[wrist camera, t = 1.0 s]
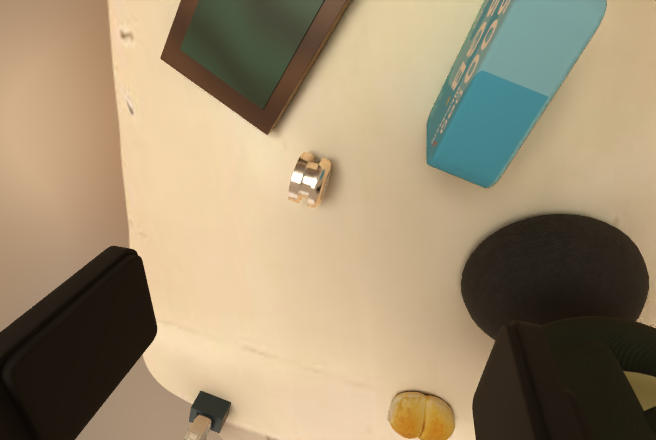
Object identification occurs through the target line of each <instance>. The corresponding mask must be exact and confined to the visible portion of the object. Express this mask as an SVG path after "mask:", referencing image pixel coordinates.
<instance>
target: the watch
mask: <svg viewBox="0 0 656 440" xmlns="http://www.w3.org/2000/svg"><path fill="white" fill-rule="evenodd" d="M230 404H231V402H228V401H226V400H223V399H220V398H218V397H215V396H213V395H210V394H208V393H205V392H202V391H200V393H199V394H198V396H197V398H196V400H195V401H194V403H193V405H192V407H191V412H190V418H189V421H190V422H192V424H191V426H190V427H189V429H188V433H187V435H186V436H185V438H184V440H185V439H186V440H206V439H207V437H208V434H209V430H212V431H215V432H217V433H220V431H221V429H222V427H223V425H224V423H225V421H226V418H227V416H228V412H229V408H230Z"/></svg>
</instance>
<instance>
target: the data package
mask: <svg viewBox="0 0 656 440" xmlns="http://www.w3.org/2000/svg"><path fill="white" fill-rule="evenodd" d="M606 6H607V2H606V0H485V1H484V3H483V5H482V7H481V9H480V11H479V13H478V15H477V17H476V19H475V22H474V24H473V26H472V28H471V30H470V32H469V34H468V36H467V38H466V40H465V42H464V44H463V46H462V48H461V50H460V52H459V55H458V57H457V59H456V61H455V63H454V65H453V67H452V69H451V71H450V73H449V75H448V77H447V79H446V81H445V83H444V85H443V87H442V90H441V92H440V94H439V96H438V98H437V100H436V102H435V104H434V106H433V108H432V110H431V113H430V115H429V118H428V121H427V164H428V165H430V166H432V167H434V168H437V169H439V170H442V171H444V172H447V173H449V174H452V175H454V176H457V177H459V178H462V179H464V180H467V181H469V182H472V183H474V184H477V185H479V186H481V187H484V188H489V187H491V186H493V185H494V184H495V183H496V182H497V181H498V180H499V179H500V177H501V176H502V174H503V173H504V171H505V170H506V168H507V167H508V165H509V164H510V162H511V161H512V159H513V158H514V156H515V155H516V153H517V151H518V150H519V148H520V147H521V145H522V144H523V142H524V141H525V139H526V138H527V136H528V135H529V133H530V132H531V130H532V128H533V127H534V125H535V124H536V122H537V121H538V119H539V118H540V116H541V115H542V113H543V112H544V110H545V108H546V107H547V105H548V104H549V102H550V101H551V99H552V98H553V96H554V95H555V93H556V92H557V90H558V89H559V87H560V85H561V84H562V82H563V81H564V79H565V78H566V76H567V75H568V73H569V72H570V70H571V69H572V67H573V66H574V64H575V62H576V61H577V59H578V58H579V56H580V55H581V53H582V52H583V50H584V49H585V47H586V46H587V44H588V42H589V41H590V39H591V38H592V36H593V35H594V33H595V32H596V30H597V28H598V27H599V25H600V23H601V21H602V19H603V16H604V14H605V11H606Z"/></svg>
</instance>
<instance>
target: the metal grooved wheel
mask: <svg viewBox="0 0 656 440" xmlns="http://www.w3.org/2000/svg"><path fill="white" fill-rule="evenodd" d="M330 173H331V162H330V161H329V160H328V159H325V158H322V159H321V161H320V163H319V164H317V163H314V155H313V154H309V153H306V152H303V153H302V154H301V156H300V158H299V160H298V162H297V164H296V167H295V169H294V172H293V175H292V179H291V183H290V187H289V193H288V199H289V200H290V201H293V202H296V203H299V202H300V201H301V199H302V197H304V198H307V199H308V202H307V205H308V206H309V207H312V208H314V207H317V206H318V205H319V204H320V202H321V200H322V198H323V196H324V193H325V190H326V187H327V184H328V181H329V177H330Z"/></svg>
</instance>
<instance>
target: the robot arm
mask: <svg viewBox="0 0 656 440" xmlns="http://www.w3.org/2000/svg"><path fill="white" fill-rule="evenodd" d="M156 333H157V324H156V319H155V315H154V310H153V306H152V302H151V297H150V293H149V288H148V284H147V279H146V275H145V270H144V266H143V261H142V258H141V257H140V256H138V254H137V252H136V251H135V250H133V249H129V248H124V247H118V246H110V247H109V248H107V249H106V250H104V251H103V252H102V253H101V254H99V255H98V256H97V257H95V258H94V259H93V260H92V261H90V262H89V263H88V264H87V265H85V266H84V267H83V268H82V269H80V270H79V271H78V272H76V273H75V274H74V275H73V276H71V277H70V278H69V279H68V280H66V281H65V282H64V283H63V284H61V285H60V286H59V287H57V288H56V289H55V290H54V291H52V292H51V293H50V294H48V295H47V296H46V297H45V298H43V299H42V300H41V301H40V302H38V303H37V304H36V305H35V306H33V307H32V308H31V309H29V310H28V311H27V312H26V313H24V314H23V315H22V316H20V317H19V318H18V319H17V320H15V321H14V322H13V323H12V324H10V325H9V326H8V327H7V328H5V329H4V330H3V331H1V332H0V440H75V439H76V438H77V436H78V435H79V434H80V432H81V431H82V430H83V429H84V427H85V426H86V425H87V424H88V422H89V421H90V420H91V418H92V417H93V416H94V415H95V413H96V412H97V411H98V410H99V408H100V407H101V406H102V405H103V403H104V402H105V401H106V399H107V398H108V397H109V396H110V395H111V393H112V392H113V391H114V390H115V388H116V387H117V386H118V384H119V383H120V382H121V381H122V379H123V378H124V377H125V376H126V374H127V373H128V372H129V371H130V369H131V368H132V367H133V366H134V364H135V363H136V362H137V360H138V359H139V358H140V357H141V355H142V354H143V353H144V352H145V350H146V349H147V348H148V347H149V345H150V344H151V343H152V341H153V340H154V338H155V336H156ZM472 410H473V419H474V427H475V435H476V440H595V438H594V436H593V433H592V431H591V428H590V425H589V423H588V420H587V418H586V415H585V413H584V410H583V408H582V405H581V403H580V401H579V399H578V397H577V395H576V394H575V393H574V392H573V391H570V390H566V389H565V388H564V385H563V382H562V380H561V377H560V374H559V371H558V369H557V366H556V363H555V361H554V358H553V355H552V352H551V350H550V347H549V344H548V341H547V339H546V336H545V333H544V331H543V328H542V326H540V325H539V324H534V323H529V322H523V321H518V320H512V321H511V323H510V324H509V325H505V324H503V325H502V326H501V328H500V331H499V333H498V336H497V338H496V341H495V344H494V346H493V349H492V351H491V354H490V356H489V359H488V361H487V364H486V366H485V369H484V371H483V374H482V377H481V379H480V382H479V384H478V387H477V389H476V392H475V394H474V398H473V406H472Z"/></svg>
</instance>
